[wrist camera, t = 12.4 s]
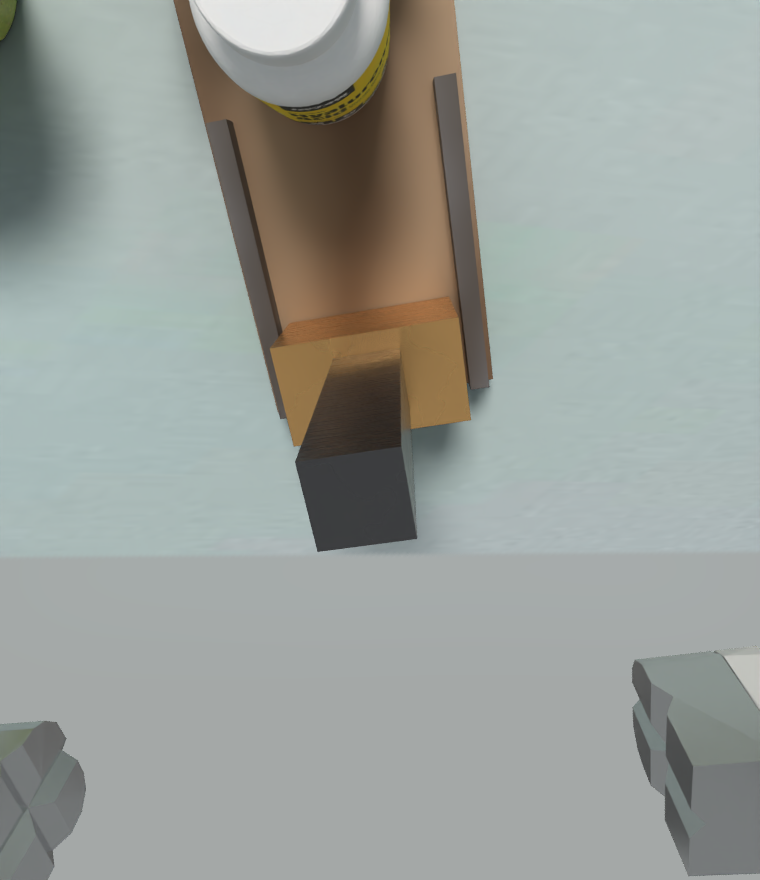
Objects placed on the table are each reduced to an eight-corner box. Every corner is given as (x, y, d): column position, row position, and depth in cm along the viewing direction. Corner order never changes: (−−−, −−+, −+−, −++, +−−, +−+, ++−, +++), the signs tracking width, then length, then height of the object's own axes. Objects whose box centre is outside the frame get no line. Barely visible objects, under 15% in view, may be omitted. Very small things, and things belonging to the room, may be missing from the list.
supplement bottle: (307, 158, 24) (251, 142, 15) (215, 26, 22) (88, -83, 13) (420, 63, 22) (435, -18, 13) (331, -85, 21) (280, -291, 12)
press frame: (283, 401, 29) (248, 468, 22) (155, -115, 22) (43, -255, 15) (488, 369, 28) (517, 428, 22) (430, -181, 21) (446, -363, 14)
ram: (308, 408, 28) (238, 587, 15) (289, 323, 26) (193, 446, 14) (459, 384, 27) (511, 552, 15) (448, 296, 26) (496, 401, 13)
